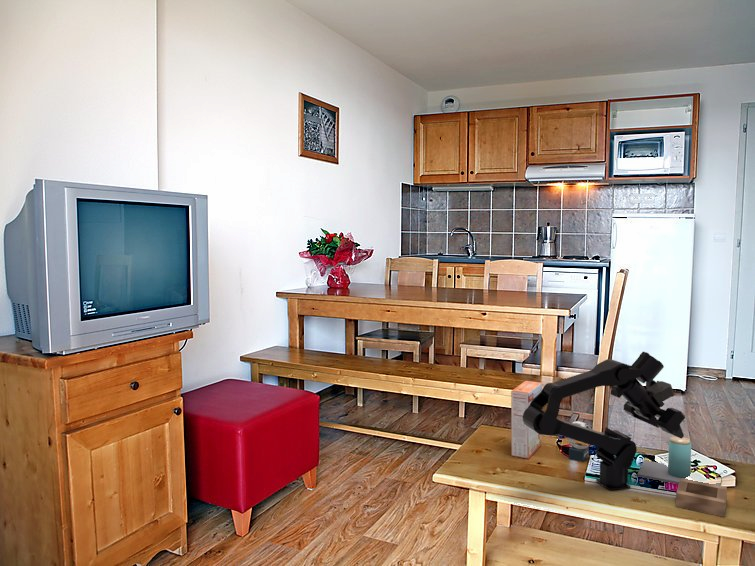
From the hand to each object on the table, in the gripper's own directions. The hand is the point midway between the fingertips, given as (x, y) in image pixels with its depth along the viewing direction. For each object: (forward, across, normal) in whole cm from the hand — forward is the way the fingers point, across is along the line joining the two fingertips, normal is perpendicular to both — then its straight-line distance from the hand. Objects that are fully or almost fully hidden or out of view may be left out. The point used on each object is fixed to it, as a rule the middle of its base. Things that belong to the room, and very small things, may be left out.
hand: (670, 431), depth 165 cm
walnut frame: (+8, -15, +11) cm, 20 cm away
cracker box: (-10, +29, +30) cm, 43 cm away
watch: (-1, +20, +21) cm, 29 cm away
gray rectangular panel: (+12, 0, +7) cm, 14 cm away
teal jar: (+11, 0, +6) cm, 13 cm away
